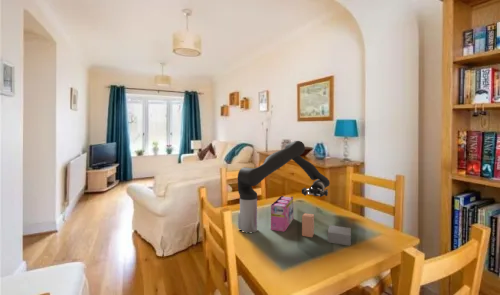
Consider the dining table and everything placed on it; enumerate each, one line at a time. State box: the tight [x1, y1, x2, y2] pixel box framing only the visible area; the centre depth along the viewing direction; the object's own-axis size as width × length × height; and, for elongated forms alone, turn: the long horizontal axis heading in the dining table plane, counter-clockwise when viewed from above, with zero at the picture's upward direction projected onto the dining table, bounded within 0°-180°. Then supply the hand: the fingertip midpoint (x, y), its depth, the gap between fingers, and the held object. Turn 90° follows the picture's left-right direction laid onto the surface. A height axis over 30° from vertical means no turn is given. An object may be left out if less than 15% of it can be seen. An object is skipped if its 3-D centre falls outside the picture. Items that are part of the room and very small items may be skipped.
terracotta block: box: [301, 212, 315, 238], centre depth 124 cm, size 5×5×10 cm
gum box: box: [270, 195, 294, 233], centre depth 141 cm, size 24×8×14 cm, turn 158°
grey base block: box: [327, 224, 352, 246], centre depth 118 cm, size 10×10×5 cm
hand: (312, 194), depth 135 cm, fingers open, 8 cm apart
